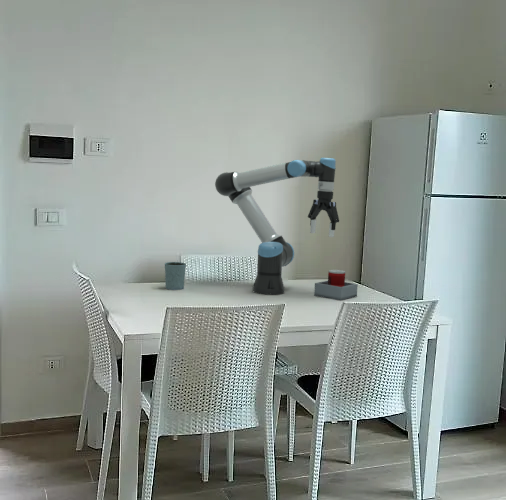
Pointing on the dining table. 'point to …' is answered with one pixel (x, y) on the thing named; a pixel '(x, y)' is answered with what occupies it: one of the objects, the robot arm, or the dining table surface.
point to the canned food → (336, 278)
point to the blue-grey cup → (175, 275)
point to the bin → (335, 290)
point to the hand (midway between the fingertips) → (321, 235)
